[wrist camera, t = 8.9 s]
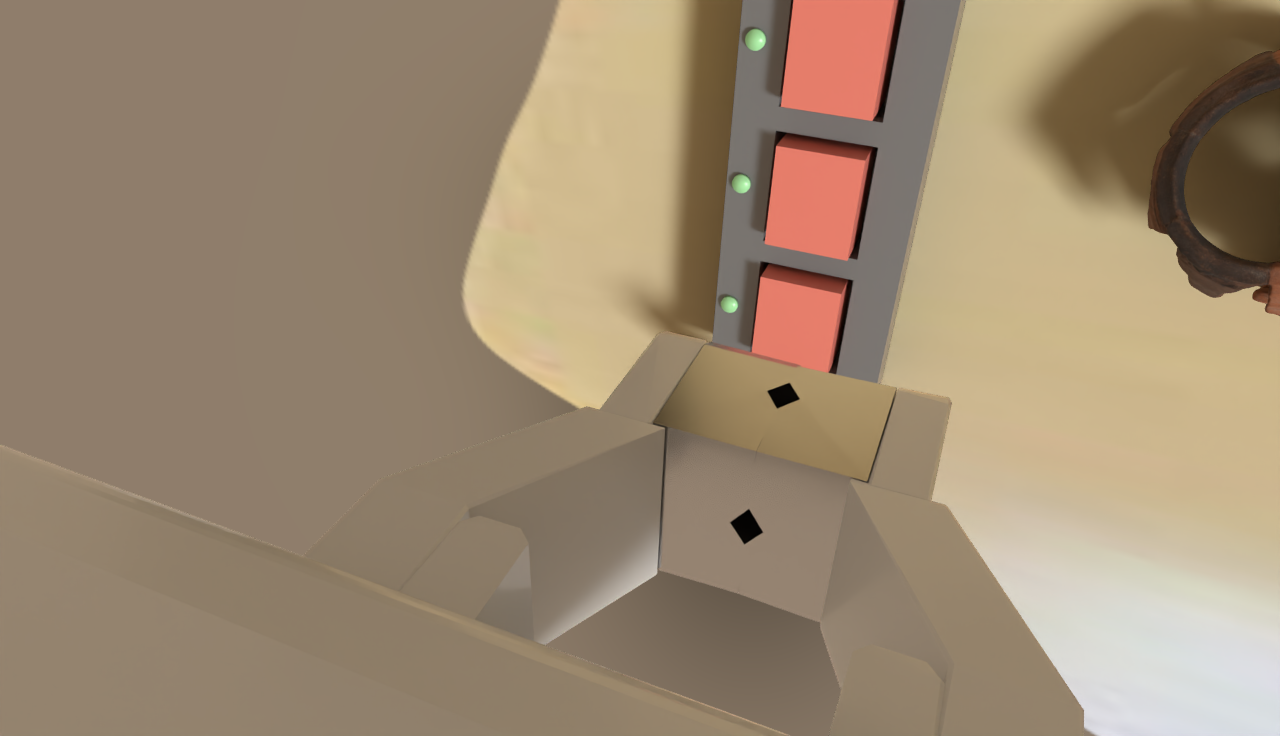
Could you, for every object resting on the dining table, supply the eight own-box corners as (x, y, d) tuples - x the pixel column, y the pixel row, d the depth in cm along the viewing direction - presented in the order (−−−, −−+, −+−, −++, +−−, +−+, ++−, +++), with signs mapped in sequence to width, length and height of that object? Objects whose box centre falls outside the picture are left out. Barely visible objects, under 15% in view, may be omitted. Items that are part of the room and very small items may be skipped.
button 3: (778, 249, 42) (760, 276, 40) (855, 264, 41) (841, 294, 39) (768, 328, 45) (750, 359, 42) (840, 345, 43) (826, 378, 41)
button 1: (814, -27, 35) (795, -12, 33) (907, -17, 34) (893, -1, 32) (799, 86, 38) (780, 106, 35) (885, 98, 37) (872, 121, 34)
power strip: (783, -205, 33) (758, -203, 31) (1008, -194, 31) (1002, -191, 29) (728, 340, 47) (708, 372, 44) (882, 377, 45) (870, 413, 42)
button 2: (794, 123, 39) (776, 145, 36) (878, 136, 38) (865, 160, 35) (782, 217, 41) (764, 243, 39) (861, 232, 40) (847, 260, 38)
